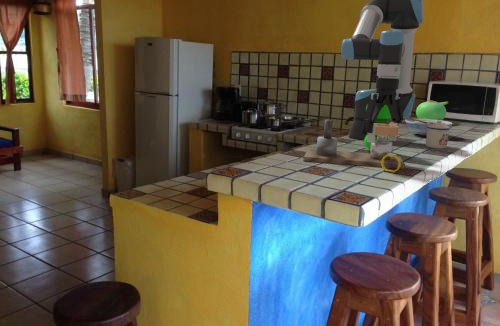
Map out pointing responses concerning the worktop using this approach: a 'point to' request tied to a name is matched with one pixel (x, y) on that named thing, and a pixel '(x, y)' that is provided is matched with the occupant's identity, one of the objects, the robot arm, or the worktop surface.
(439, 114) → the green pumpkin
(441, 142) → the teacup with lid
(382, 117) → the plastic bottle
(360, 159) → the tool board
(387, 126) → the octagonal notched ring
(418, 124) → the ramen bowl
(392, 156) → the watch
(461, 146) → the worktop surface
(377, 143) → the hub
